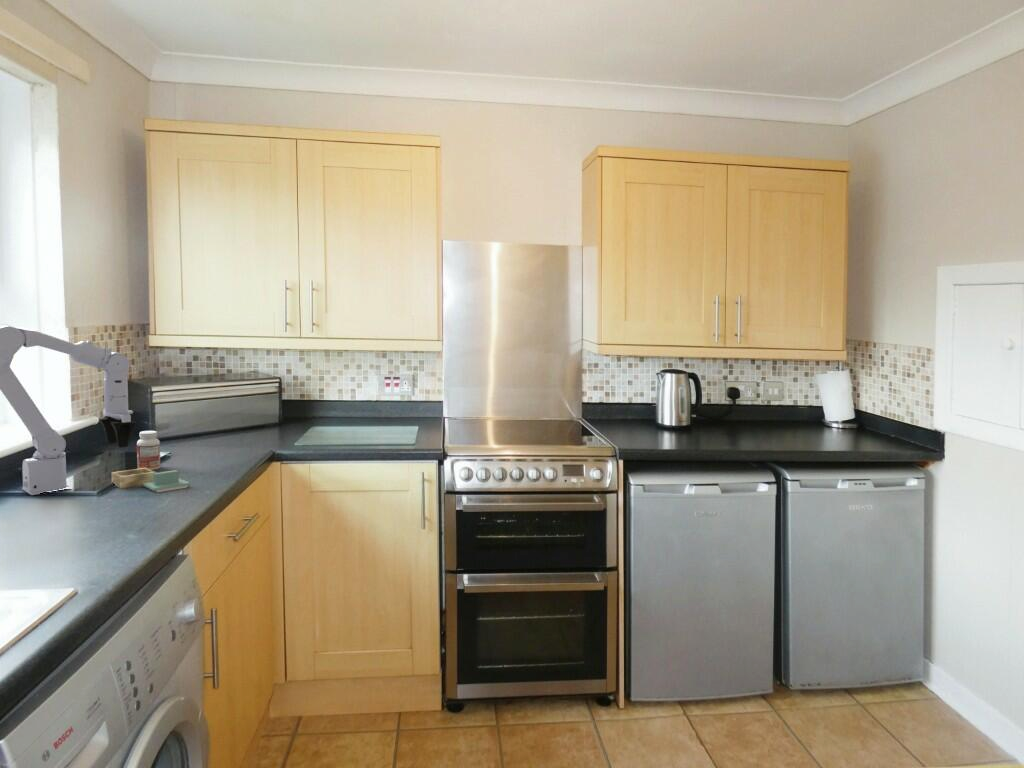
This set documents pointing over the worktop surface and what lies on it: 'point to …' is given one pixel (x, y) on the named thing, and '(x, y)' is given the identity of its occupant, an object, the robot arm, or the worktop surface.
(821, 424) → the worktop surface
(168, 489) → the mat
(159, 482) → the lid
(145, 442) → the pill bottle
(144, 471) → the box
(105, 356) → the robot arm
